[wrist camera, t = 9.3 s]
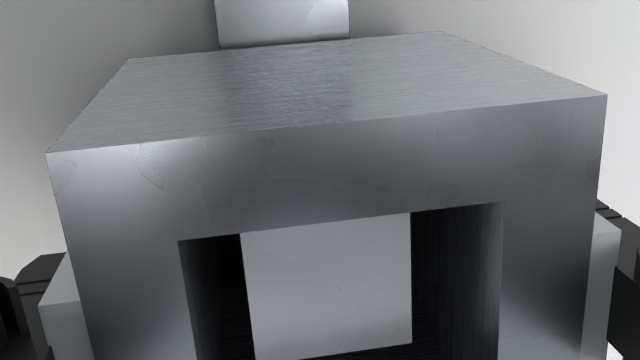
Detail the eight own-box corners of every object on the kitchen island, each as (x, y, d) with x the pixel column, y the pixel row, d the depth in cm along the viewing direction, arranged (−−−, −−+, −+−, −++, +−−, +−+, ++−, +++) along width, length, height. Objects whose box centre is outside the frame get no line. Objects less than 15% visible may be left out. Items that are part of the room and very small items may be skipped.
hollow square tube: (177, 330, 17) (146, 572, 10) (128, 58, 14) (44, 153, 8) (439, 294, 17) (564, 497, 11) (440, 30, 15) (607, 94, 8)
